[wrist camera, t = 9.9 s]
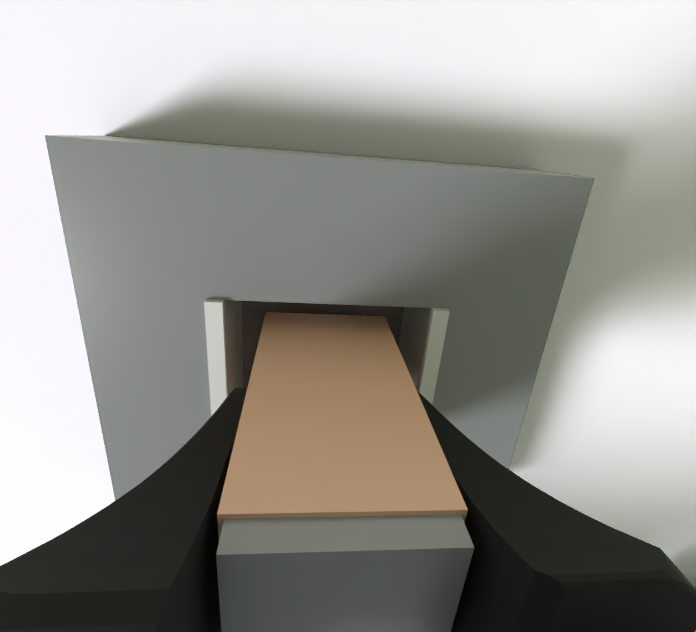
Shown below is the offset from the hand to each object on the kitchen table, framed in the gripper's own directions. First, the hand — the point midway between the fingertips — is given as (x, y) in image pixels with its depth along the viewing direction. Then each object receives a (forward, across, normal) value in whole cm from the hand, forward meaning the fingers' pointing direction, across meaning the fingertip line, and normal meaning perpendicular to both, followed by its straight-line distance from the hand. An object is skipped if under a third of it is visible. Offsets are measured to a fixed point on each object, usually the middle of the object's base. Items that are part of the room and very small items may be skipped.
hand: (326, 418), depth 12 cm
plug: (+3, 0, 0) cm, 3 cm away
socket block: (+4, 0, 0) cm, 4 cm away
